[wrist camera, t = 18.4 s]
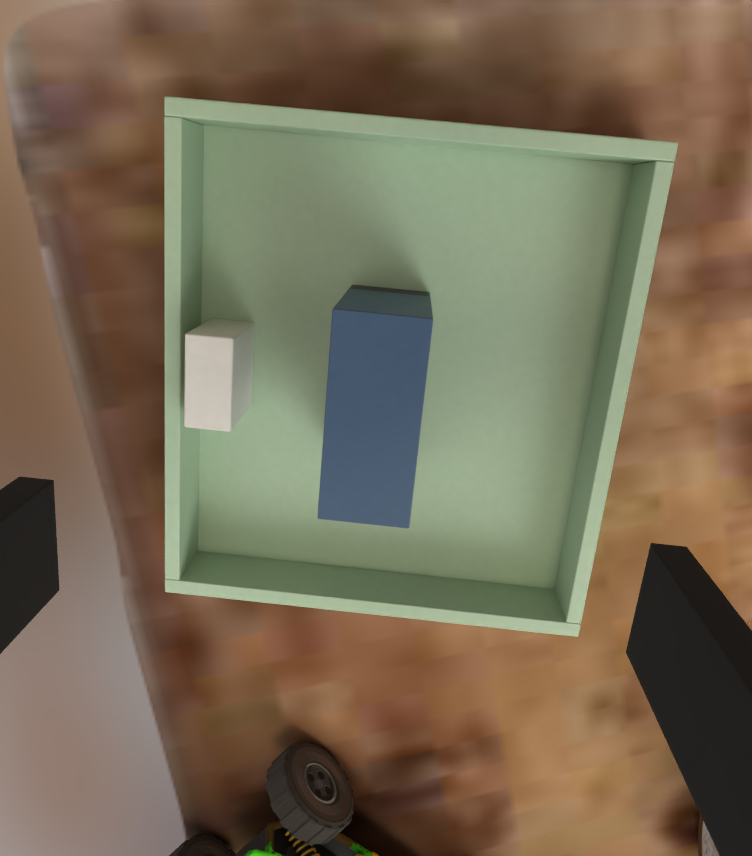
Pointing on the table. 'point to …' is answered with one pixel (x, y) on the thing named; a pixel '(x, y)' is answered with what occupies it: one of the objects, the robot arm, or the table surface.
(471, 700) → the table surface
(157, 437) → the table surface
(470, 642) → the table surface
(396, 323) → the eraser
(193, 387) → the chalk
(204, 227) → the tray
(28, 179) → the table surface
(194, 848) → the motor vehicle
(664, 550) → the robot arm
